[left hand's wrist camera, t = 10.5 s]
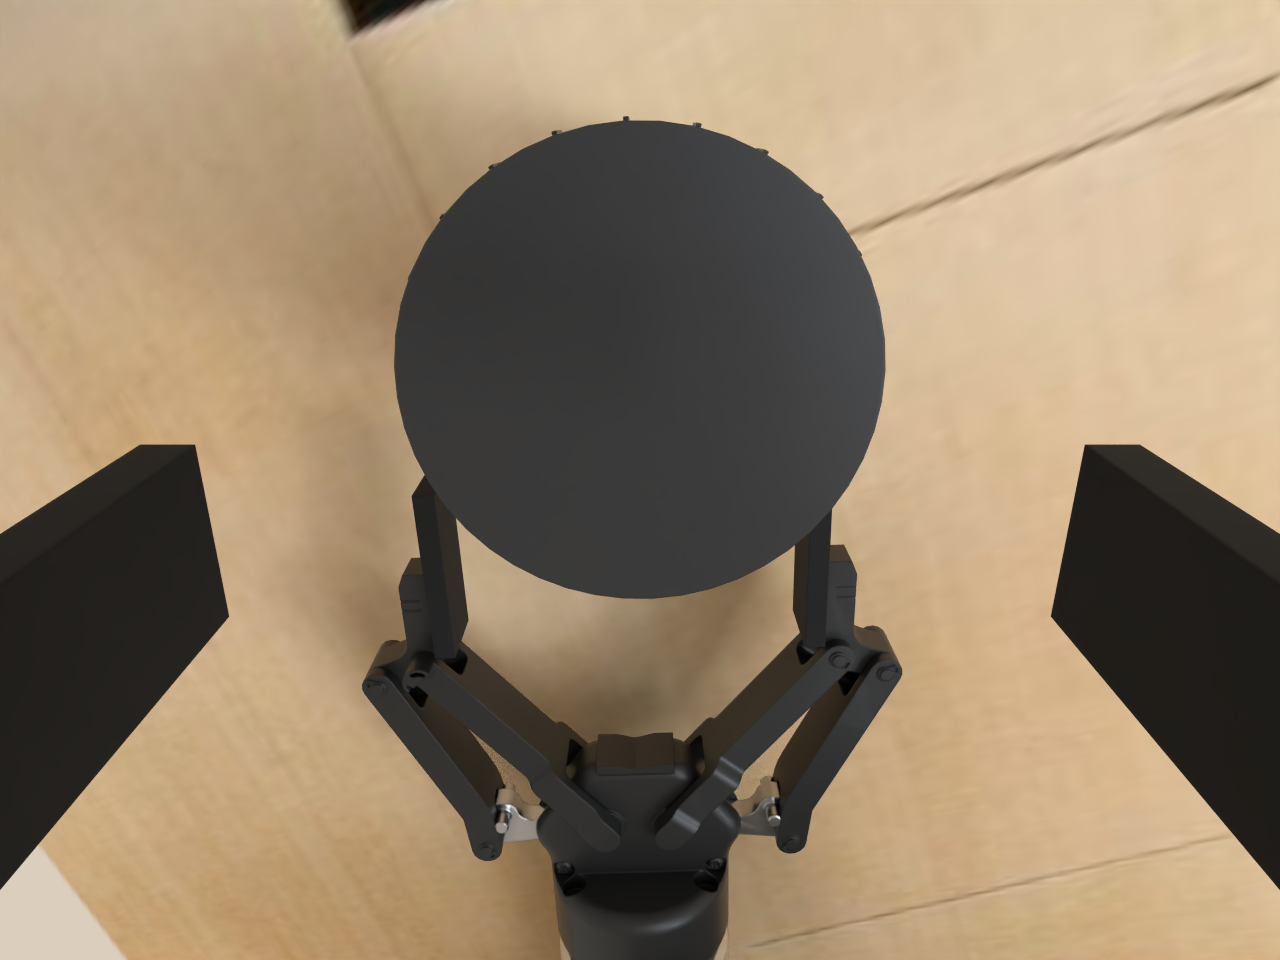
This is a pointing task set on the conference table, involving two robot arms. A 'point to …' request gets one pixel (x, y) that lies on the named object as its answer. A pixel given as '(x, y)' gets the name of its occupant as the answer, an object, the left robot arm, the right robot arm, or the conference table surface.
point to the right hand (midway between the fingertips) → (622, 473)
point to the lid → (639, 359)
